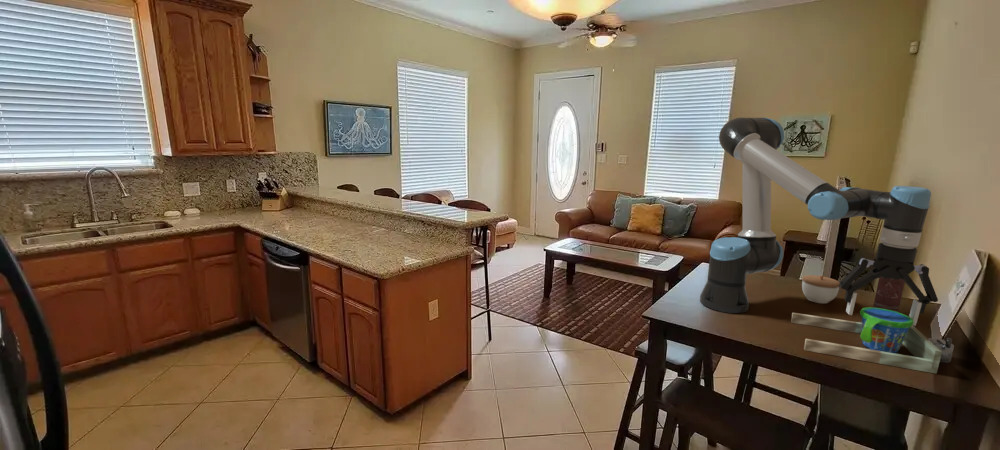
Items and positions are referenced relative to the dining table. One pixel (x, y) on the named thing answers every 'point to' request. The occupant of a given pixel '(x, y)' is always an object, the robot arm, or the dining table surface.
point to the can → (889, 293)
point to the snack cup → (884, 329)
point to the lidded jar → (819, 288)
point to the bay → (913, 341)
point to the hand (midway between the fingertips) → (879, 318)
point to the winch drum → (944, 348)
